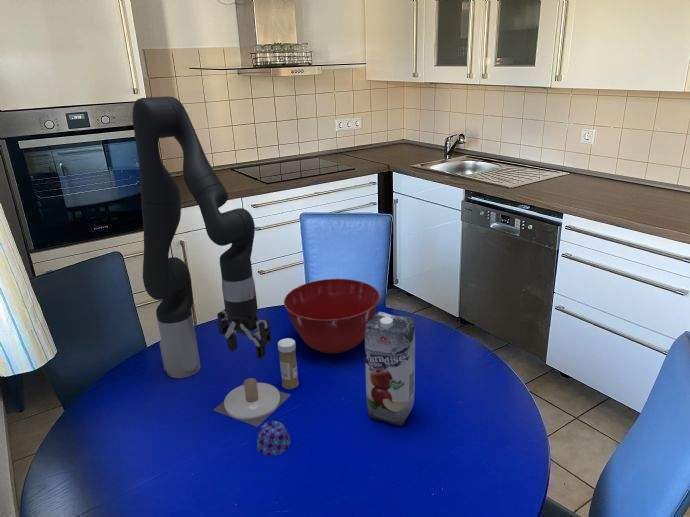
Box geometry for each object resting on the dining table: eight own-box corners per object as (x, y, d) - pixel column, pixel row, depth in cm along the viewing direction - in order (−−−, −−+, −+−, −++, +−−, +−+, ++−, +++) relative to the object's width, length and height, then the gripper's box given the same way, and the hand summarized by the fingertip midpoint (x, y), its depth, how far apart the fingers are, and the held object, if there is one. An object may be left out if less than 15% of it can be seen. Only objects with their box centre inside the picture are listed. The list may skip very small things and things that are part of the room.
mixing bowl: (268, 350, 160) (263, 304, 155) (325, 313, 182) (322, 271, 176) (345, 378, 145) (343, 328, 139) (397, 334, 167) (397, 289, 161)
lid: (212, 410, 133) (209, 389, 131) (248, 381, 145) (246, 361, 142) (257, 426, 127) (254, 405, 124) (290, 394, 138) (289, 374, 136)
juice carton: (377, 398, 136) (376, 303, 126) (417, 409, 132) (418, 311, 122) (363, 419, 129) (360, 320, 119) (404, 431, 124) (404, 328, 114)
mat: (213, 412, 133) (212, 410, 133) (248, 383, 145) (248, 381, 145) (257, 428, 127) (257, 426, 127) (291, 396, 138) (290, 394, 138)
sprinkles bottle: (301, 386, 142) (298, 342, 137) (286, 392, 140) (282, 348, 135) (293, 378, 146) (290, 335, 141) (278, 384, 144) (274, 341, 139)
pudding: (311, 443, 122) (309, 424, 120) (272, 474, 114) (270, 454, 112) (275, 422, 129) (273, 404, 127) (236, 450, 121) (233, 431, 119)
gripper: (205, 294, 125) (214, 354, 131) (253, 305, 118) (261, 368, 124) (226, 282, 131) (234, 340, 137) (273, 292, 124) (279, 353, 130)
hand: (247, 353), depth 130 cm, fingers open, 8 cm apart
